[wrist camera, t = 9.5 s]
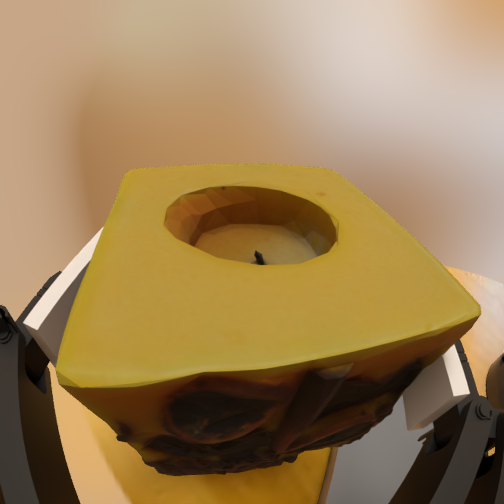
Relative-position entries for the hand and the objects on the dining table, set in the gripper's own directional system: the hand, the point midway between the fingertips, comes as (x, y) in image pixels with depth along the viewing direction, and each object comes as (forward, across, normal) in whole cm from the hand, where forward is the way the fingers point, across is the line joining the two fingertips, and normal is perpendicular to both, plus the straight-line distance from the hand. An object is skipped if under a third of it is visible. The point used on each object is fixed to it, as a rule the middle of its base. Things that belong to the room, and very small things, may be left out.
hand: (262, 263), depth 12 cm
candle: (-2, 0, -7) cm, 7 cm away
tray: (-4, +16, -18) cm, 24 cm away
